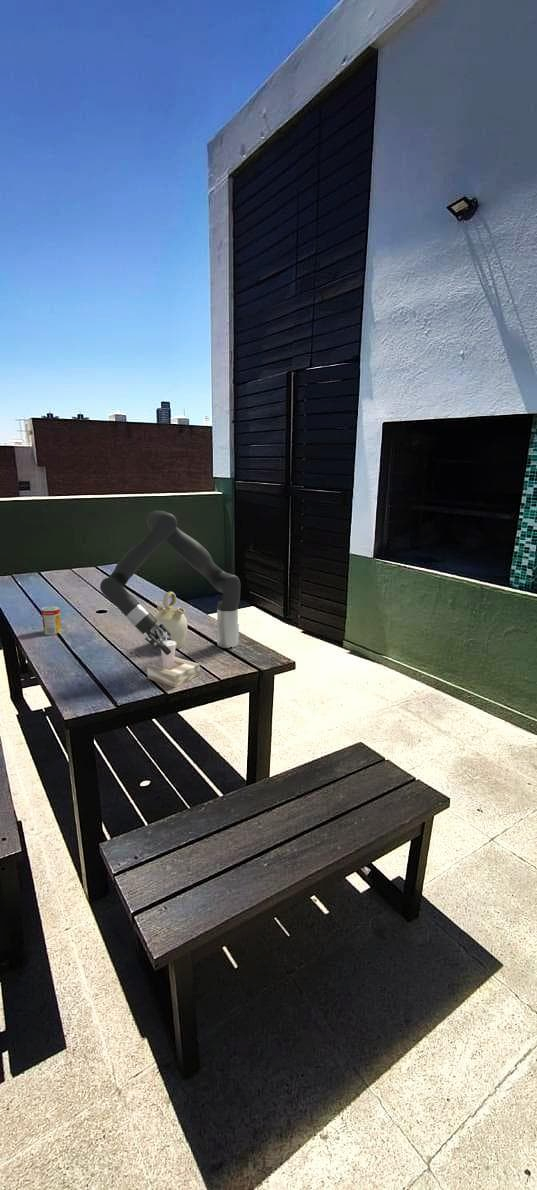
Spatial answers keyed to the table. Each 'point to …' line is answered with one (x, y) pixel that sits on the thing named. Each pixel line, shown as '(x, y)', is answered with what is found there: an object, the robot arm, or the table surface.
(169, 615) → the jug
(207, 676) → the table surface
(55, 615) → the canned food
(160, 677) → the notched board
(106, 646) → the table surface
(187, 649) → the table surface
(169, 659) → the white cup with straw
